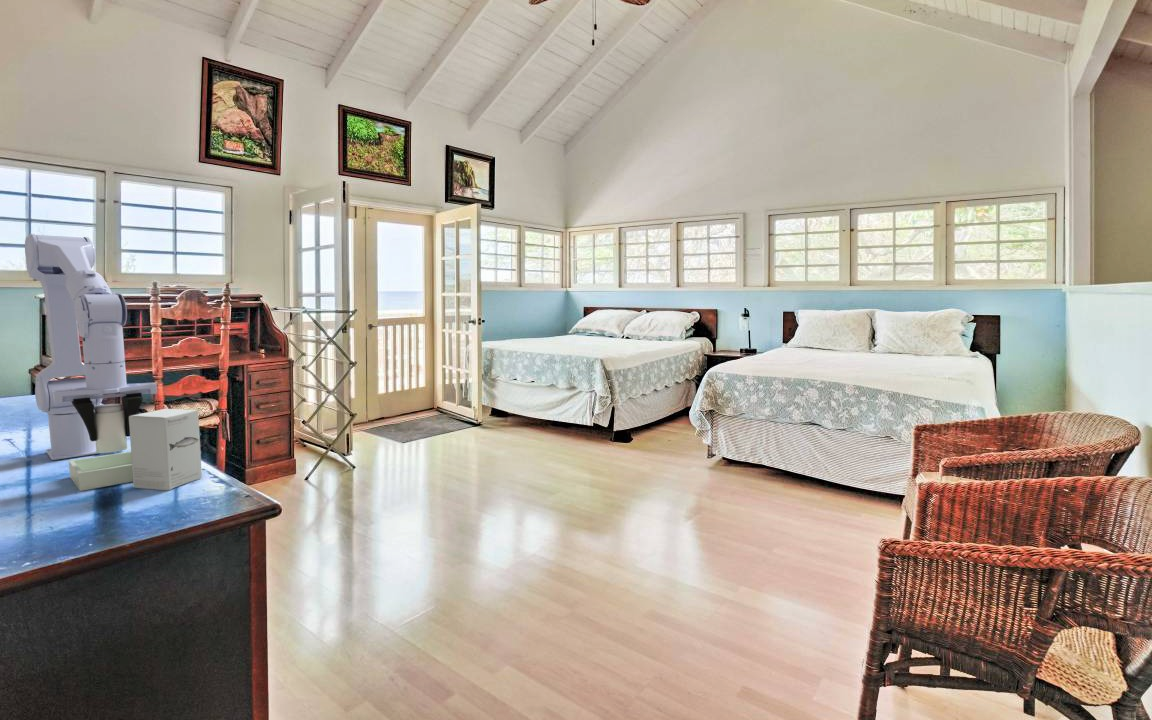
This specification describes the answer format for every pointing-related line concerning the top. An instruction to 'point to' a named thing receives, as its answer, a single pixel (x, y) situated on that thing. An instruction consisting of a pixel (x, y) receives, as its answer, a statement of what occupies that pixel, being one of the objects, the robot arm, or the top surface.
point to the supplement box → (165, 448)
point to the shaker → (110, 428)
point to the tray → (101, 471)
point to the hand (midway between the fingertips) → (110, 437)
